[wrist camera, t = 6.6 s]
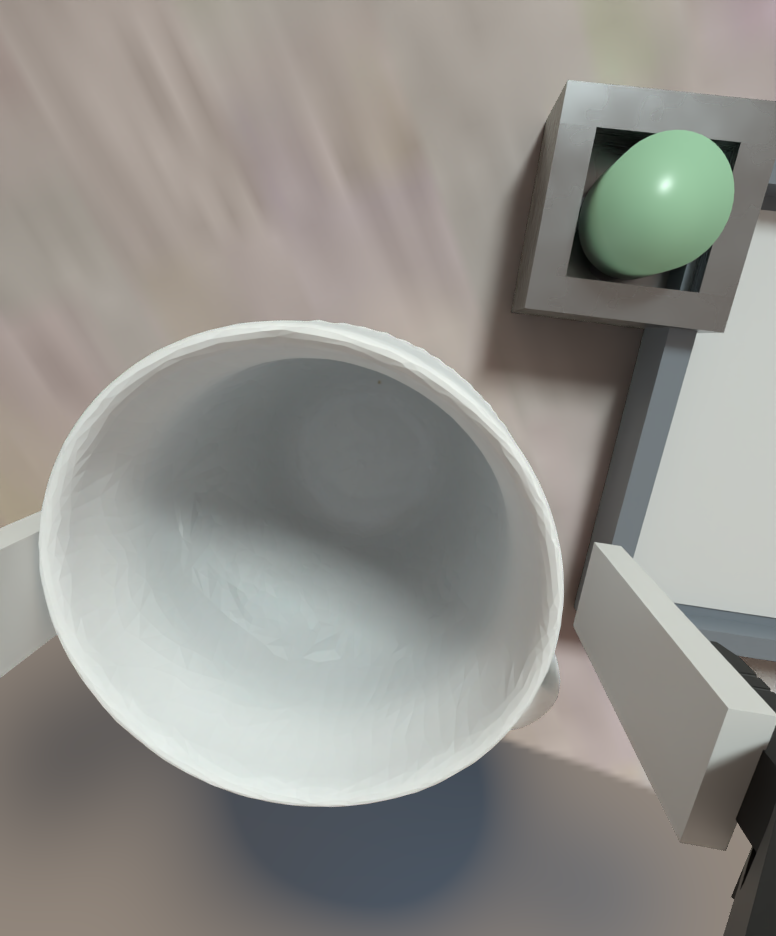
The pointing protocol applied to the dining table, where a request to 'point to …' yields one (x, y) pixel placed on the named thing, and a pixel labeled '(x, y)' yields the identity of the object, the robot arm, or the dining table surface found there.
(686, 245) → the button
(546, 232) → the grey square frame
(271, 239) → the dining table surface
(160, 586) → the mug
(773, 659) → the tray
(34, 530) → the robot arm
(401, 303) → the dining table surface
